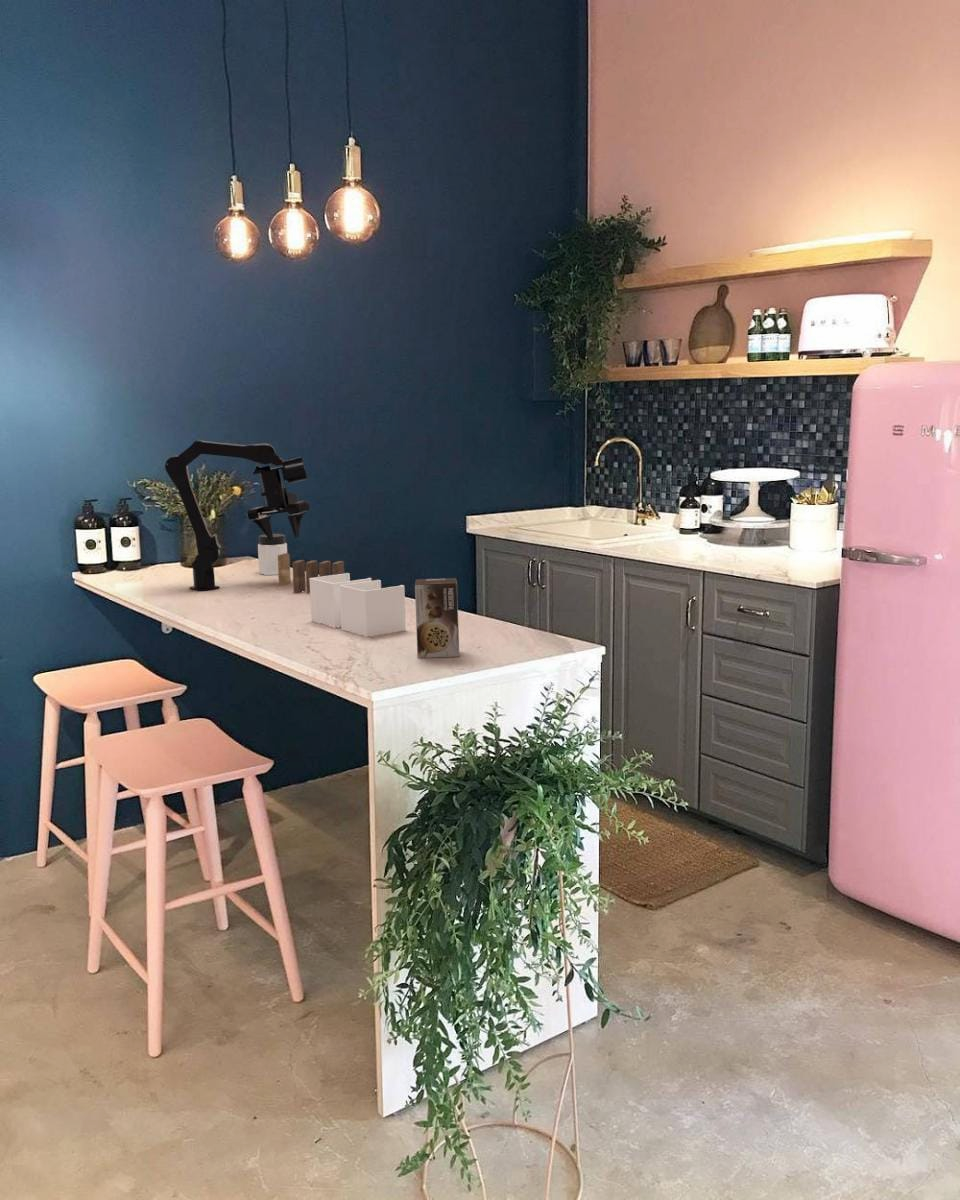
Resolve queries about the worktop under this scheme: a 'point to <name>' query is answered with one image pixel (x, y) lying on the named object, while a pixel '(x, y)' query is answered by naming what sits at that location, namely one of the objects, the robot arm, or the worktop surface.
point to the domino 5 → (338, 567)
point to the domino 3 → (311, 572)
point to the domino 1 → (284, 569)
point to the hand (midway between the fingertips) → (284, 538)
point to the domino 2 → (299, 576)
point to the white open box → (357, 604)
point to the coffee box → (437, 618)
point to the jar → (270, 553)
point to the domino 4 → (325, 568)
